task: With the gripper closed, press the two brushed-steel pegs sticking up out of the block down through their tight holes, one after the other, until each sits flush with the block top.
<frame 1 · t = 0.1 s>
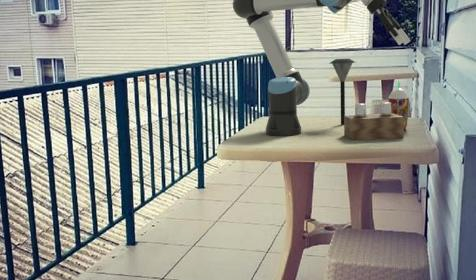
hand: (405, 43, 211), 36 cm above the table, tool tilted 35°, fingers open, 13 cm apart
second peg: (385, 112, 207), point 9 cm above the table, slide at 5.0 cm
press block: (373, 136, 208), on the table
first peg: (360, 113, 206), point 9 cm above the table, slide at 5.0 cm
smoothie: (398, 130, 223), on the table
solar garden light: (342, 124, 244), on the table
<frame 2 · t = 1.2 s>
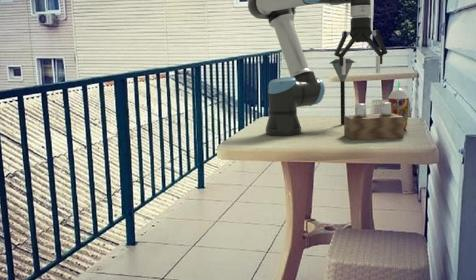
hand: (360, 74, 204), 25 cm above the table, tool pointing down, fingers open, 13 cm apart
nothing on the table moved.
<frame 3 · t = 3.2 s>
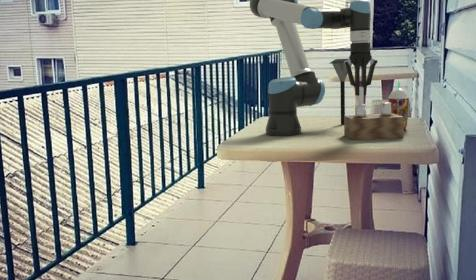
hand: (360, 103, 206), 13 cm above the table, tool pointing down, fingers closed
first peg: (360, 114, 206), point 9 cm above the table, slide at 4.8 cm, touching gripper
everything else where it was.
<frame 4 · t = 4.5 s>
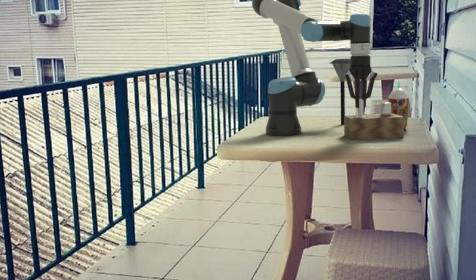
hand: (360, 116, 207), 8 cm above the table, tool pointing down, fingers closed
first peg: (360, 126, 207), point 4 cm above the table, slide at 0.0 cm, touching gripper
everything else where it was.
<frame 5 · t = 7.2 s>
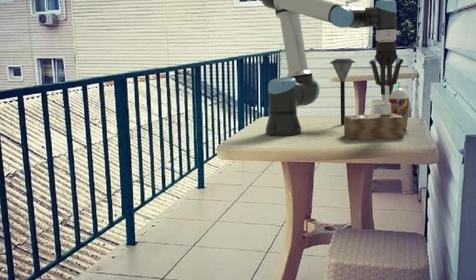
hand: (386, 102, 206), 13 cm above the table, tool pointing down, fingers closed
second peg: (385, 113, 207), point 9 cm above the table, slide at 4.7 cm, touching gripper
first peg: (360, 126, 207), point 4 cm above the table, slide at 0.0 cm
everything else where it was.
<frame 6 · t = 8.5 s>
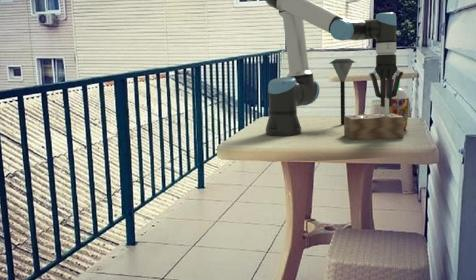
hand: (385, 115, 207), 8 cm above the table, tool pointing down, fingers closed
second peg: (385, 125, 208), point 4 cm above the table, slide at 0.0 cm, touching gripper
everything else where it was.
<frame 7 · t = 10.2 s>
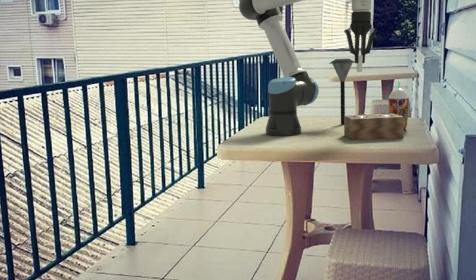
hand: (359, 71, 212), 25 cm above the table, tool pointing down, fingers closed
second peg: (385, 125, 208), point 4 cm above the table, slide at 0.0 cm
everything else where it was.
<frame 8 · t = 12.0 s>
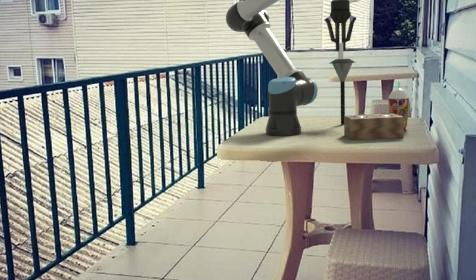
hand: (340, 59, 218), 30 cm above the table, tool pointing down, fingers closed
nothing on the table moved.
at the end: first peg slide at 0.0 cm; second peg slide at 0.0 cm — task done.
